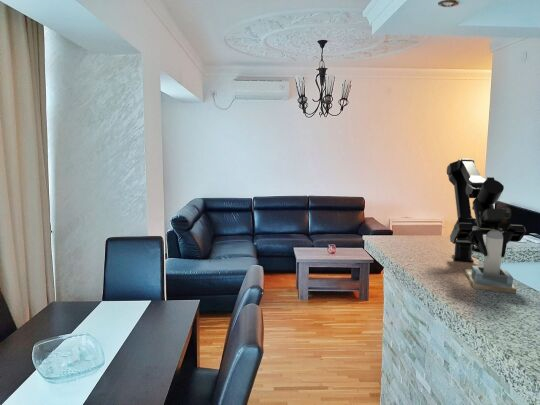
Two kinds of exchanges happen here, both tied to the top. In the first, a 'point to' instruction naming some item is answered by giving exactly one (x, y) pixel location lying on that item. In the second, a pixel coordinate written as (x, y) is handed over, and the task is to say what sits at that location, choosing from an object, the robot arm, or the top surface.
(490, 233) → the cylinder
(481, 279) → the jig
